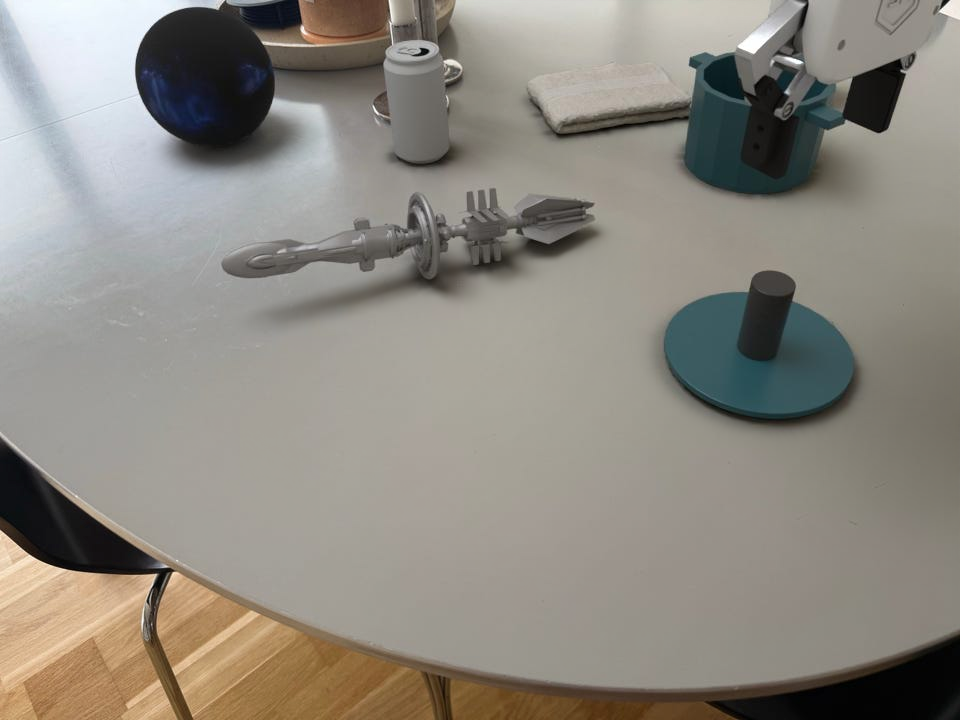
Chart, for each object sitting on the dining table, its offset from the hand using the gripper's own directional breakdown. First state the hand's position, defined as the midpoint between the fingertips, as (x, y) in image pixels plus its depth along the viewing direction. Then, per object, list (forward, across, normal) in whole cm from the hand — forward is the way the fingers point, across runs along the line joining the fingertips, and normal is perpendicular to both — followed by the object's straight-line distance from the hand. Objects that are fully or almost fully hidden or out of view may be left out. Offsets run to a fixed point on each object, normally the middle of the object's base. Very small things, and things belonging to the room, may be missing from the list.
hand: (814, 146), depth 53 cm
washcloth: (+19, +21, +43) cm, 51 cm away
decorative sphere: (+20, -21, +65) cm, 71 cm away
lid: (+19, +1, +1) cm, 19 cm away
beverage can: (+20, -3, +47) cm, 51 cm away
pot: (+19, +24, +23) cm, 39 cm away
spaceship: (+20, -15, +27) cm, 37 cm away
